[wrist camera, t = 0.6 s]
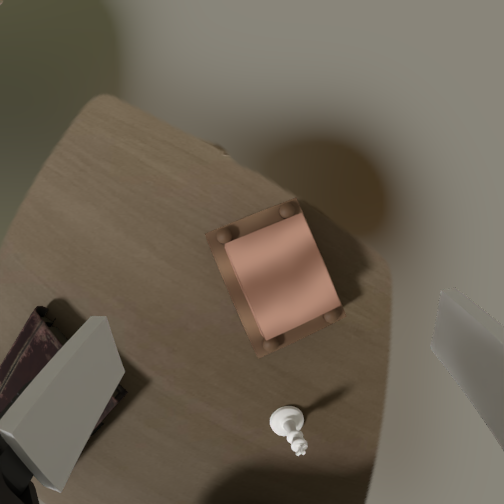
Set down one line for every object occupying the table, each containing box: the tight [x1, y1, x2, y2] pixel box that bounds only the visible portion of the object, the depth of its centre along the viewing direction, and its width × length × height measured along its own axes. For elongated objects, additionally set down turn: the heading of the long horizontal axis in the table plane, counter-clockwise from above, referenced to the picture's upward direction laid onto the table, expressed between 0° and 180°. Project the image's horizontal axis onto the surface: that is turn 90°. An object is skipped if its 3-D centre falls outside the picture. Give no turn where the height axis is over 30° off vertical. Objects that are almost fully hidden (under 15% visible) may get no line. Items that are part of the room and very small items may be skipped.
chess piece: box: [270, 406, 308, 456], centre depth 34 cm, size 5×5×10 cm
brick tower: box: [205, 198, 346, 358], centre depth 37 cm, size 16×12×9 cm
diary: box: [0, 306, 128, 436], centre depth 34 cm, size 19×25×5 cm
